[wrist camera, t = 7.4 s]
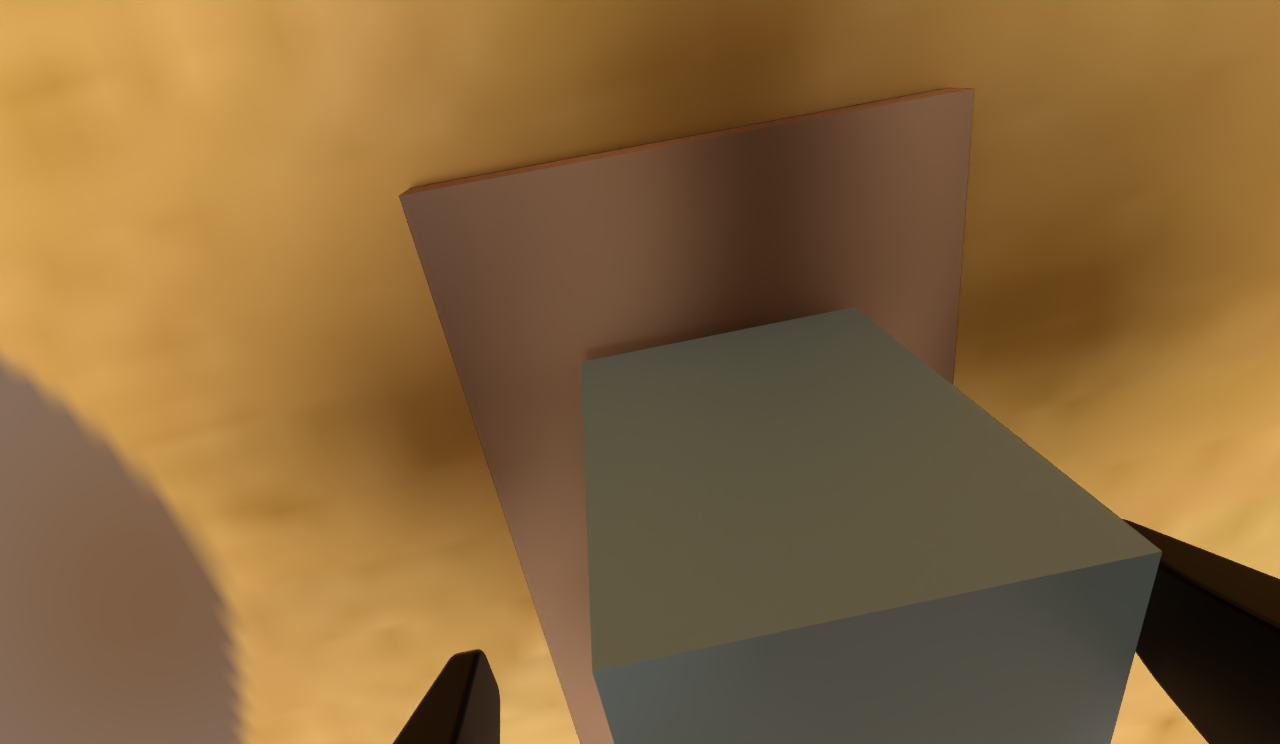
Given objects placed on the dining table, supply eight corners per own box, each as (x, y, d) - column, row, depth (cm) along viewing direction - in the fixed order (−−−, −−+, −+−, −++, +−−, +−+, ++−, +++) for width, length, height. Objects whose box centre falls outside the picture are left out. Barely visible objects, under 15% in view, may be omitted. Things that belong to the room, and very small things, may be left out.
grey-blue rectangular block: (854, 307, 11) (1162, 551, 5) (858, 523, 14) (1078, 860, 8) (580, 362, 11) (592, 670, 5) (630, 570, 14) (677, 947, 8)
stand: (948, 88, 11) (1494, 98, 5) (916, 670, 18) (1115, 1008, 12) (409, 188, 11) (166, 349, 4) (587, 739, 18) (597, 1123, 11)
